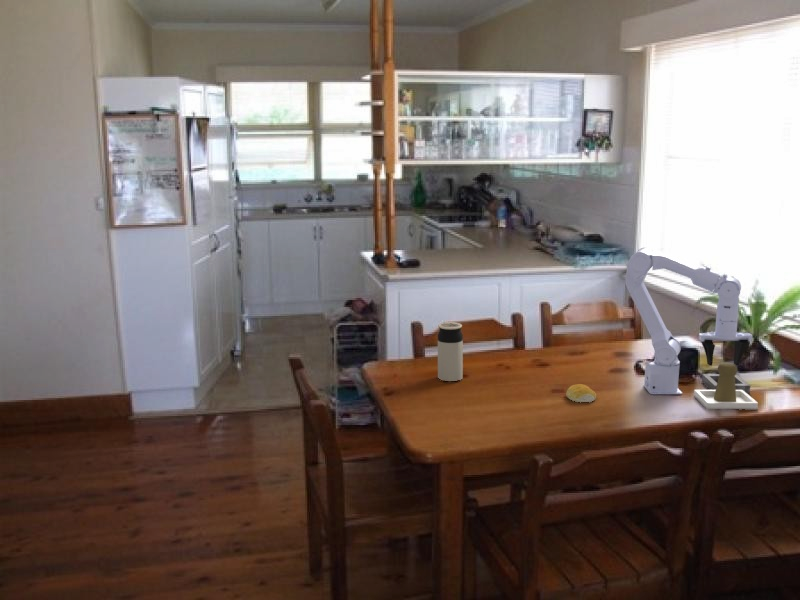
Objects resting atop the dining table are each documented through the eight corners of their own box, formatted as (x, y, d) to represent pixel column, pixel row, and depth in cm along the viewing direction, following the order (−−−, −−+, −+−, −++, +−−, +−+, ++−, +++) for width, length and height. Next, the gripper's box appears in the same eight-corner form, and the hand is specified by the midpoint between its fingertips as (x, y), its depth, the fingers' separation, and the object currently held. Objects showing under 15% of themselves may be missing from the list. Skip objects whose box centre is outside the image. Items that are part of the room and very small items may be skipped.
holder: (714, 393, 225) (714, 385, 225) (701, 381, 235) (702, 374, 235) (749, 393, 225) (750, 385, 224) (735, 381, 235) (736, 374, 234)
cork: (737, 404, 215) (740, 367, 212) (714, 402, 217) (717, 365, 214) (735, 397, 221) (738, 361, 218) (713, 395, 222) (715, 359, 220)
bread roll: (587, 392, 228) (588, 379, 228) (599, 402, 220) (599, 390, 219) (561, 394, 227) (562, 381, 227) (572, 404, 219) (572, 391, 218)
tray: (707, 409, 213) (707, 403, 212) (693, 396, 223) (694, 389, 223) (757, 409, 212) (758, 403, 212) (741, 396, 223) (742, 389, 222)
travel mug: (459, 384, 237) (459, 329, 233) (434, 381, 239) (434, 327, 235) (465, 376, 244) (465, 322, 240) (441, 373, 247) (441, 321, 243)
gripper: (746, 315, 219) (742, 360, 223) (696, 316, 220) (693, 360, 223) (756, 322, 213) (752, 367, 216) (704, 322, 213) (701, 367, 216)
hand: (722, 364), depth 219 cm, fingers open, 7 cm apart
